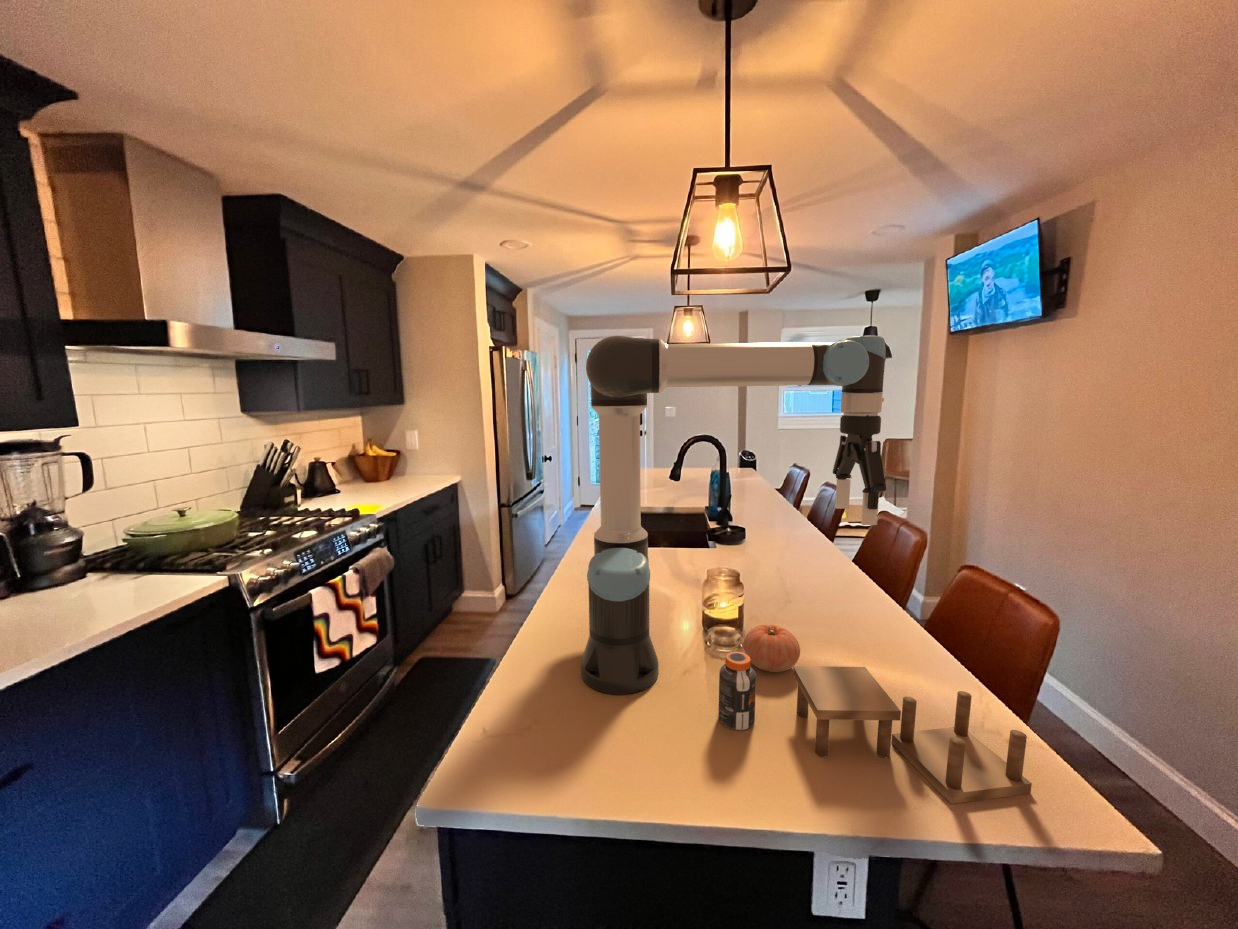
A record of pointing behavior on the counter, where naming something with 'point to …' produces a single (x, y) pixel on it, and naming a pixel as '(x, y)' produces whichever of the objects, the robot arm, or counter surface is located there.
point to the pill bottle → (737, 692)
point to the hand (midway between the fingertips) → (854, 516)
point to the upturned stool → (961, 757)
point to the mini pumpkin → (771, 648)
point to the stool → (844, 701)
